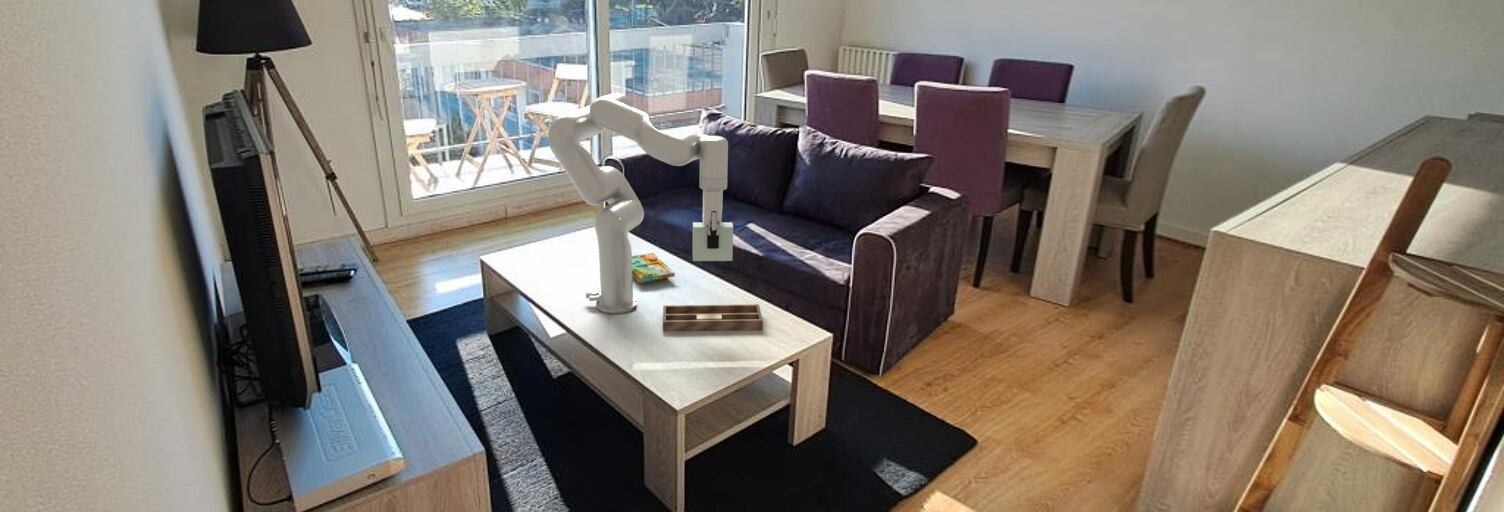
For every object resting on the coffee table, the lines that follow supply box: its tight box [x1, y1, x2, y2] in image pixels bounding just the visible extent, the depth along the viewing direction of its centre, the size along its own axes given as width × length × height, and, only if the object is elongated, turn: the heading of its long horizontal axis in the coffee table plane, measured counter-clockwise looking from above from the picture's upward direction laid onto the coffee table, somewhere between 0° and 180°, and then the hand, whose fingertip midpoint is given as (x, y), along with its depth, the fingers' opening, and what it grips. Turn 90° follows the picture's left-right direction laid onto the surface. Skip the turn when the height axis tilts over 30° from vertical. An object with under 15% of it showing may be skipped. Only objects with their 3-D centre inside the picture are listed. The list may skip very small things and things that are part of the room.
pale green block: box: [692, 221, 734, 262], centre depth 218 cm, size 11×4×10 cm, turn 95°
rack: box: [662, 303, 764, 333], centre depth 225 cm, size 28×11×4 cm, turn 95°
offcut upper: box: [697, 314, 722, 320], centre depth 221 cm, size 7×3×2 cm, turn 95°
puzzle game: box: [632, 252, 676, 284], centre depth 259 cm, size 12×5×20 cm
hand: (712, 244), depth 219 cm, fingers closed on pale green block, 4 cm apart
